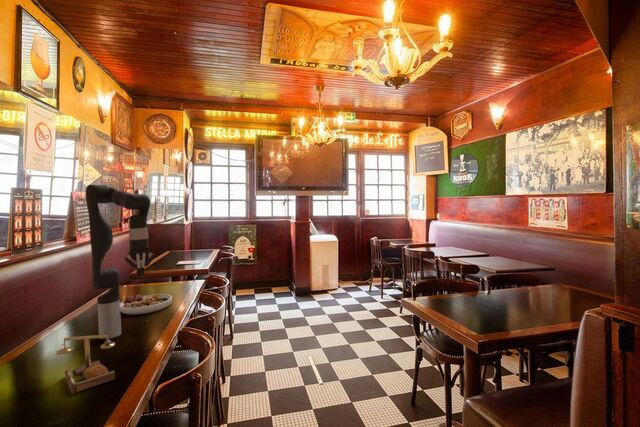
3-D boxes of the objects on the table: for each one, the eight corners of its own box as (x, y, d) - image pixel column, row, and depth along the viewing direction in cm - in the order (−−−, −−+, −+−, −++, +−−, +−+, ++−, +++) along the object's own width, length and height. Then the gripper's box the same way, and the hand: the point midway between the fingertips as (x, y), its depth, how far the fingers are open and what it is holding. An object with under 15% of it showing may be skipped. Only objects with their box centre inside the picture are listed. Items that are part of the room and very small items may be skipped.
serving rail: (65, 377, 120) (64, 369, 119) (105, 364, 128) (105, 356, 128) (71, 393, 108) (71, 384, 108) (115, 378, 117) (114, 370, 117)
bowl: (181, 301, 216) (181, 290, 216) (151, 316, 186) (150, 303, 186) (142, 300, 221) (141, 289, 221) (106, 315, 191) (105, 302, 191)
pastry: (114, 375, 120) (113, 365, 120) (95, 384, 114) (94, 374, 114) (99, 370, 124) (99, 360, 124) (80, 379, 118) (79, 369, 118)
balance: (58, 381, 117) (56, 342, 116) (57, 375, 121) (54, 338, 121) (117, 362, 130) (115, 327, 129) (114, 358, 134) (112, 324, 134)
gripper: (152, 236, 152) (153, 272, 152) (120, 239, 143) (121, 277, 143) (157, 237, 146) (159, 274, 147) (124, 240, 137) (126, 280, 138)
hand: (140, 276), depth 145 cm, fingers closed
